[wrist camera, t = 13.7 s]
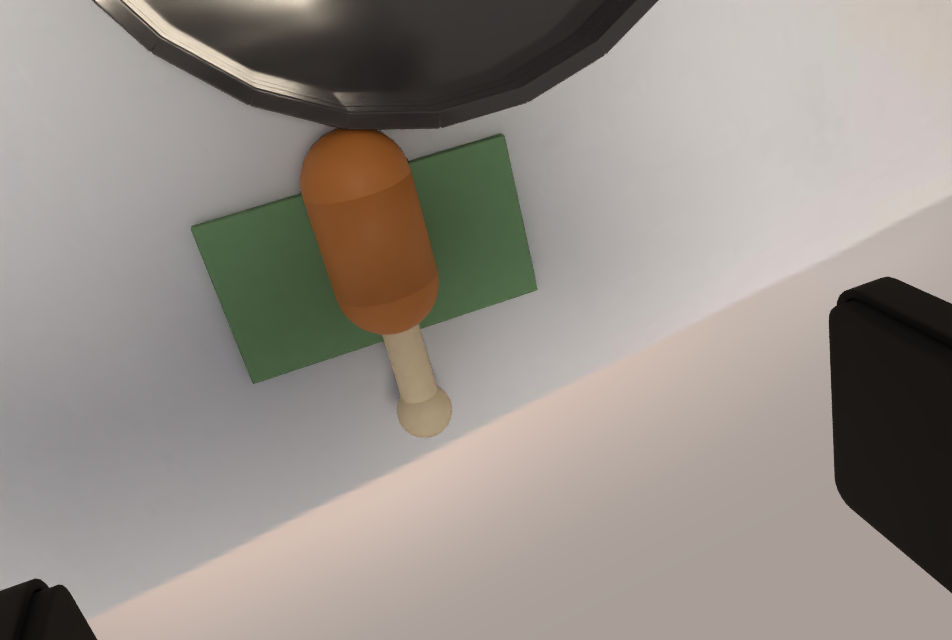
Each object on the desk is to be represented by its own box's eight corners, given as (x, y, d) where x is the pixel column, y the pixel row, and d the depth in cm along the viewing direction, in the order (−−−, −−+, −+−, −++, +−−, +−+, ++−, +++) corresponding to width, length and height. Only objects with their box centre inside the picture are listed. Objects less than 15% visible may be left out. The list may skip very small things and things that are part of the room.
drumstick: (466, 395, 30) (488, 441, 27) (378, 423, 29) (392, 474, 26) (387, 104, 25) (404, 123, 22) (282, 133, 25) (287, 156, 22)
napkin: (252, 380, 28) (253, 384, 27) (191, 226, 25) (190, 228, 25) (535, 287, 29) (537, 290, 29) (501, 133, 27) (504, 134, 26)
